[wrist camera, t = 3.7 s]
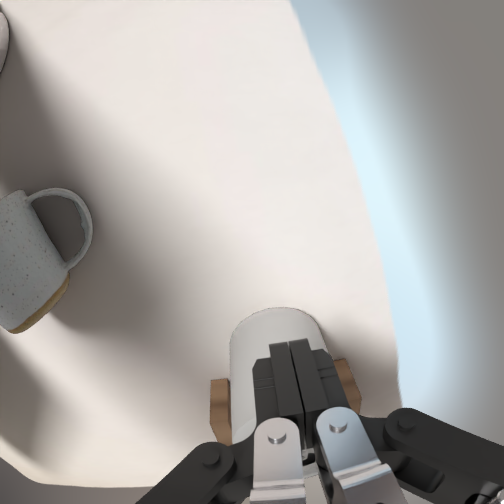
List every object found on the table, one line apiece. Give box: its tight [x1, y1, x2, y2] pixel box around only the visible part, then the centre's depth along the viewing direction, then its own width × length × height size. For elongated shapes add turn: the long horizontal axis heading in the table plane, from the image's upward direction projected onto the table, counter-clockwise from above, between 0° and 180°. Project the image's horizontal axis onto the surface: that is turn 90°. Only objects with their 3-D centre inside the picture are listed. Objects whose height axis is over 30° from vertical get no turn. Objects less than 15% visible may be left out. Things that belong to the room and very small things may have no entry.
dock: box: [210, 359, 362, 446], centre depth 28 cm, size 10×12×5 cm
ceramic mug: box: [0, 188, 93, 334], centre depth 18 cm, size 11×8×8 cm
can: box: [230, 307, 329, 479], centre depth 21 cm, size 8×8×12 cm
